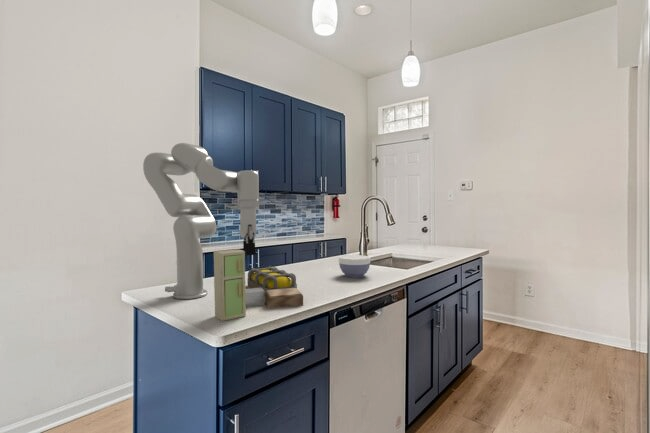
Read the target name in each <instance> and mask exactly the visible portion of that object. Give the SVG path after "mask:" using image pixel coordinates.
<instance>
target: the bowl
mask: <svg viewBox="0 0 650 433" xmlns="http://www.w3.org/2000/svg"><path fill="white" fill-rule="evenodd" d="M338 263H339V264H338V265H339V269H340V271H341V272H342V273H343V275H345V277H346V278H351V279H356V278H357V279H358V278H363V277H364V276H365V275H366V274H367V272H368V271H369V269H370V266H371V265H370V264H371V256H369V255H365V254H364V255H362V254H344V255H339V256H338Z"/></svg>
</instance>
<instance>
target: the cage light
mask: <svg viewBox="0 0 650 433" xmlns="http://www.w3.org/2000/svg"><path fill="white" fill-rule="evenodd" d="M252 288H262V289H263V290H264V291H265V292H266V290H275V289H288V288H297V289H298V284H297V276H296V275H295V273H292V272H290V273H288V272H286V271H285V270H284V269H279V268H278V267H277V266H276V267H275V266H270V265H269V266H267V267H262V268H261V267H260V268H254V267H252V268H251V269H249V270H248V272H247V289H252Z"/></svg>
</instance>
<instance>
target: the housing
mask: <svg viewBox="0 0 650 433" xmlns="http://www.w3.org/2000/svg"><path fill="white" fill-rule="evenodd" d="M245 304H246V308H248V307H254V306H255V307H256V306H265V305H267V303H266V301H265V291H264V290H263V289H262V288H252V289H249V288H245Z"/></svg>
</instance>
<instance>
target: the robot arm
mask: <svg viewBox="0 0 650 433" xmlns="http://www.w3.org/2000/svg"><path fill="white" fill-rule="evenodd" d="M170 152H171V153H166V152H151V153H149V154H148V155H146V156H145V158H144V159H143V165H142V167H143V175H144V177H145V179H146V181H147V183H148V184H149V185H150V186H151V188H152V189H153V191H154V192H155V194H156V195H157V197H158V199H159V201H160V203H161V204H162V206H163V208H164V210H165V212H166V213H167V215H169V216H170V217H173V218H177V219H176V220H175V221H174V223H173V226H172V228H173V229H172V230H173V234H174V239H175V246H176V247H175V248H176V284H175V285H173V286H171V285H170V286H164V292H167V293H173V294H172V297H173V298H174V299H177V300H192V299H193V300H194V299H198V298H203V297H205V296H207V295H208V290H207V289H205V288H204V255H203V254H204V253H203V246H202V244H201V242H200V239H206V238H210V237H212V236H214V234H215V233H216V231H217V227H218V226H217V223H216V222H217V221H216V219H215V217H214V215H212V213H211V210H210V209H209V208H208V206H207V204H206V202H205V201H204V200H203V198H201V197H200V196H198V195H196V194H192V193H191V194H190V193H183V191H181V189H180V188H179V187H178V184H177V183H176V181H175V180H173V179H172V178H171V177H170V176H179V177H180V176H184V175H187V174H190V173H193V174H195V175H196V178H197V180H198V181H199V182H200V183H202V184H203V185H204V186H206V187H208V188H209V189H211V190H214V191H216V192H227V193H228V192H229V193H237V210H239V211H240V218H239V220H240V221H239V222H240V223H239V229H240V230H239V231H240V232H239V234H240V237H241V238H242V239H243V241H242V244H243V246H242V248H243V249H242V250H243V251H245V255H246V256H254V255H256V240H255V237H256V236H257V210H260V192H259V191H260V188H259V187H260V184H259V183H260V180H259V178H260V177H259V176H260V175H259V173H258V172H257V171H256V170H249V169H248V170H240V171H238V172H237V171H232V170H223V169H219V168H217V167H216V166H214V160H213V158H212V157H211V156H210V155H208V152H207V150H206V149H205V148H204V147H202V146H200V145H195V144H191V143H186V142H179V143H177V144H175V145H174V146H172V148H171V151H170Z"/></svg>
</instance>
